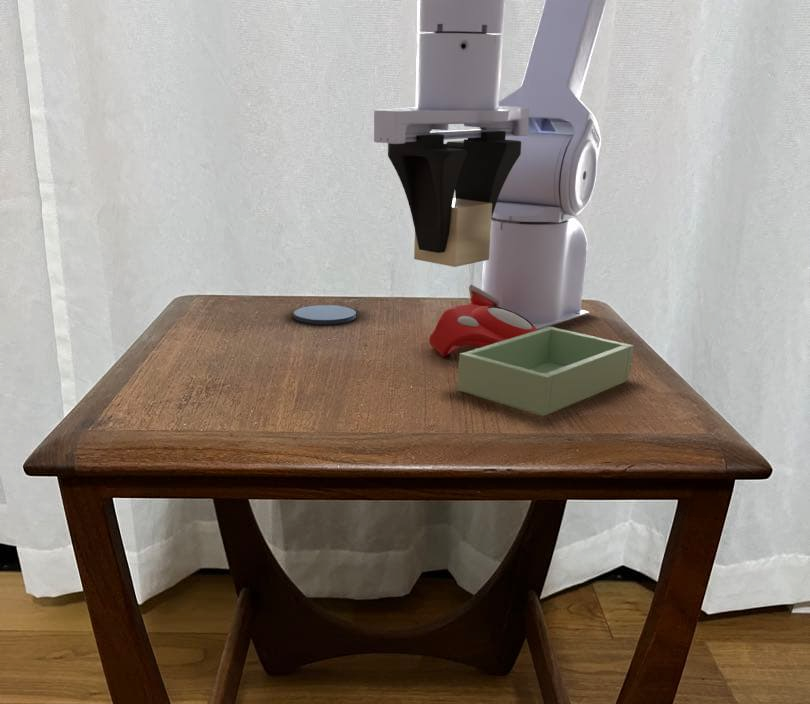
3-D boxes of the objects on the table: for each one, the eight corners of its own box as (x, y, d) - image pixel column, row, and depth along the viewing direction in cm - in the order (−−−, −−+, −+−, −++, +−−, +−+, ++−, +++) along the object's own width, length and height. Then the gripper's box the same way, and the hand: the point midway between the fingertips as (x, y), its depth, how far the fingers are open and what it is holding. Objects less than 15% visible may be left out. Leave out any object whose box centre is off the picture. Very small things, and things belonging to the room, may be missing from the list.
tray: (545, 365, 67) (549, 326, 66) (628, 386, 63) (634, 345, 62) (457, 396, 60) (459, 353, 59) (542, 422, 56) (547, 377, 55)
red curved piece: (581, 345, 68) (486, 330, 62) (557, 394, 70) (462, 385, 64) (495, 279, 76) (402, 261, 70) (475, 326, 78) (384, 313, 72)
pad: (327, 306, 83) (326, 302, 83) (368, 317, 80) (368, 312, 79) (281, 316, 79) (281, 311, 79) (322, 327, 76) (322, 323, 76)
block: (448, 252, 68) (450, 197, 66) (489, 259, 65) (492, 203, 63) (413, 259, 65) (414, 202, 63) (455, 267, 63) (457, 208, 61)
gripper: (434, 29, 51) (427, 268, 58) (571, 38, 61) (552, 242, 67) (349, 30, 55) (352, 253, 62) (490, 39, 65) (479, 231, 71)
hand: (451, 247), depth 65 cm, fingers closed on block, 4 cm apart
